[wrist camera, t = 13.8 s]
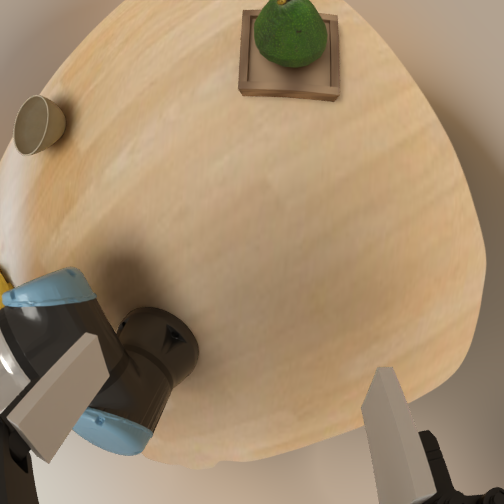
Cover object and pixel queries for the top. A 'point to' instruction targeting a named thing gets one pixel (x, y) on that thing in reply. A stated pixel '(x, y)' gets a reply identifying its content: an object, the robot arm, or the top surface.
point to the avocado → (290, 33)
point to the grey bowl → (37, 125)
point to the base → (286, 78)
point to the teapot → (3, 288)
